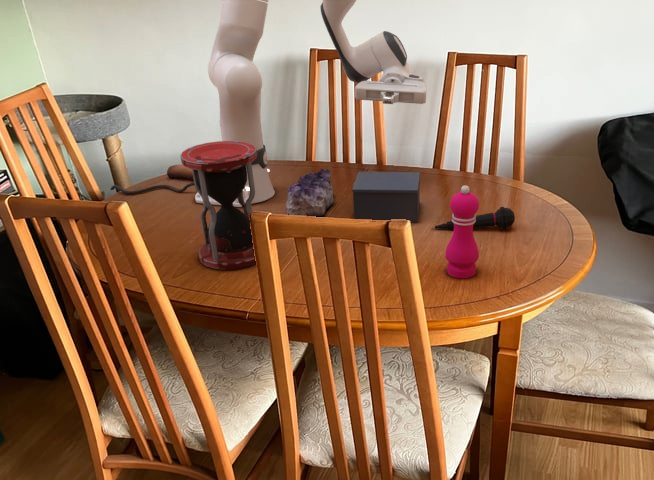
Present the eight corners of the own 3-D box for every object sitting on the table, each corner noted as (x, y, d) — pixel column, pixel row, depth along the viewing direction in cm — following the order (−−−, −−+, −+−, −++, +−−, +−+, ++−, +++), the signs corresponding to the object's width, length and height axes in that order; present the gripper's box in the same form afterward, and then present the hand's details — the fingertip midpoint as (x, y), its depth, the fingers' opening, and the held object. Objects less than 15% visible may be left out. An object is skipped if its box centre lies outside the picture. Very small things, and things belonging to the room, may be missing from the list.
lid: (417, 193, 155) (417, 190, 155) (352, 192, 157) (352, 189, 156) (419, 175, 167) (419, 172, 167) (358, 174, 168) (358, 171, 168)
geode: (302, 192, 180) (304, 159, 176) (340, 200, 179) (343, 166, 174) (278, 217, 163) (280, 181, 158) (320, 225, 161) (323, 189, 157)
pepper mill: (442, 265, 139) (444, 180, 129) (473, 263, 140) (479, 178, 130) (447, 280, 133) (451, 192, 123) (480, 278, 133) (486, 191, 123)
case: (417, 222, 160) (417, 192, 156) (354, 221, 162) (352, 191, 158) (419, 203, 171) (419, 175, 167) (360, 203, 173) (358, 174, 168)
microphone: (436, 242, 156) (516, 232, 155) (435, 226, 152) (516, 215, 150) (434, 228, 160) (512, 217, 158) (432, 211, 156) (512, 200, 154)
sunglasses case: (231, 174, 194) (222, 160, 188) (222, 192, 191) (212, 177, 185) (183, 168, 200) (173, 154, 194) (174, 185, 197) (163, 171, 191)
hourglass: (185, 264, 142) (164, 158, 130) (224, 236, 155) (208, 137, 143) (246, 275, 137) (230, 166, 125) (281, 244, 150) (270, 143, 138)
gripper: (358, 73, 180) (350, 87, 168) (428, 77, 178) (425, 91, 166) (358, 94, 183) (350, 110, 172) (427, 99, 181) (423, 114, 170)
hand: (387, 101), depth 169 cm, fingers closed
